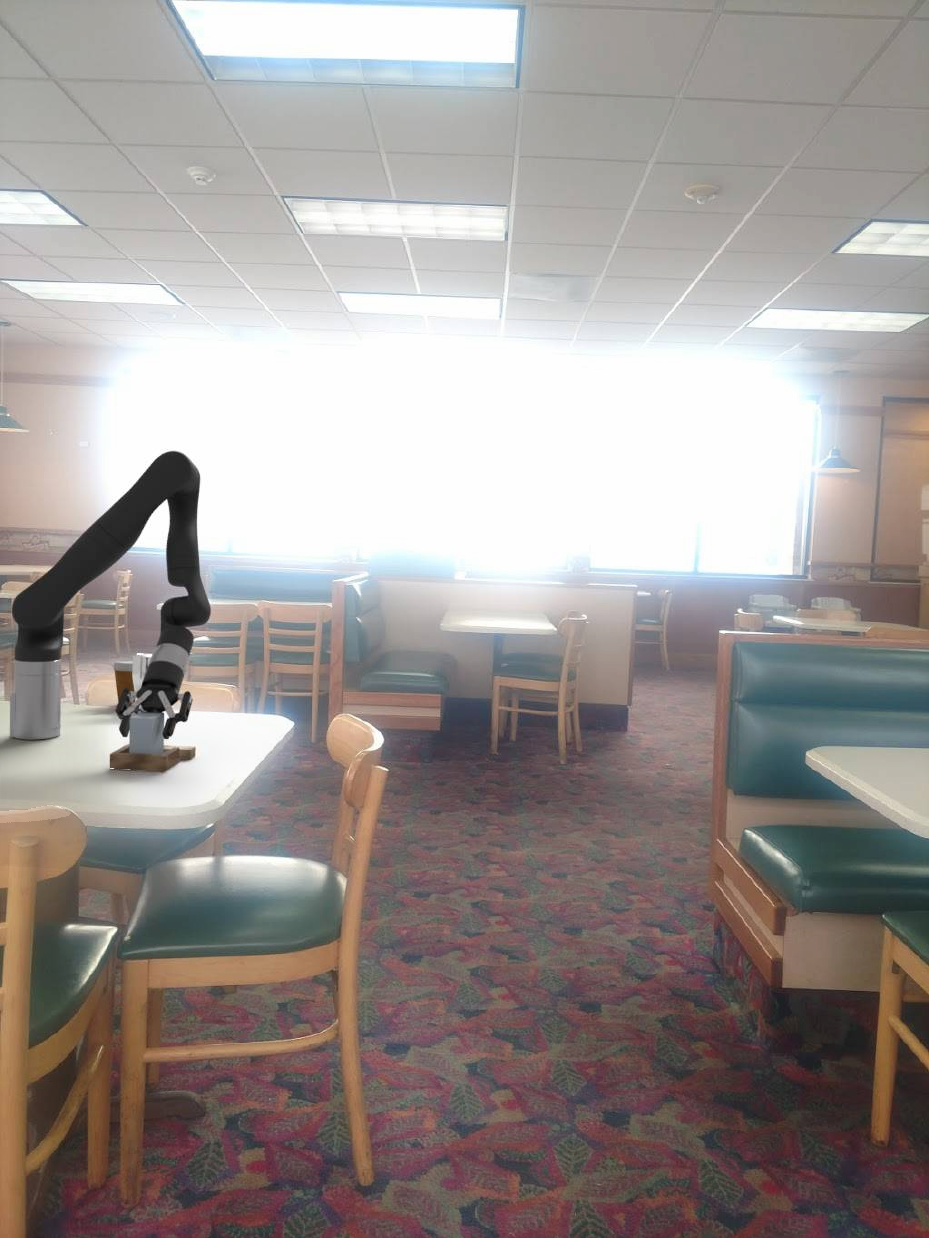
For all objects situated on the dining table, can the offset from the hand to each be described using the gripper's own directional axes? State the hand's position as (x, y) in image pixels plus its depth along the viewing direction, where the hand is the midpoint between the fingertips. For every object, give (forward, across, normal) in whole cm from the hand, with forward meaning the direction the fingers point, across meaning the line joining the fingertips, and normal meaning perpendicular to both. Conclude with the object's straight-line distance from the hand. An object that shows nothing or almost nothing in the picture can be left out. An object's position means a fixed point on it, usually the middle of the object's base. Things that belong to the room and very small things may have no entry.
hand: (144, 736), depth 163 cm
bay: (+3, 0, +5) cm, 6 cm away
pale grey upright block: (+3, 0, +5) cm, 6 cm away
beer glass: (-33, -20, +42) cm, 57 cm away
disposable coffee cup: (-39, -27, +48) cm, 67 cm away
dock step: (-2, 0, +10) cm, 10 cm away
